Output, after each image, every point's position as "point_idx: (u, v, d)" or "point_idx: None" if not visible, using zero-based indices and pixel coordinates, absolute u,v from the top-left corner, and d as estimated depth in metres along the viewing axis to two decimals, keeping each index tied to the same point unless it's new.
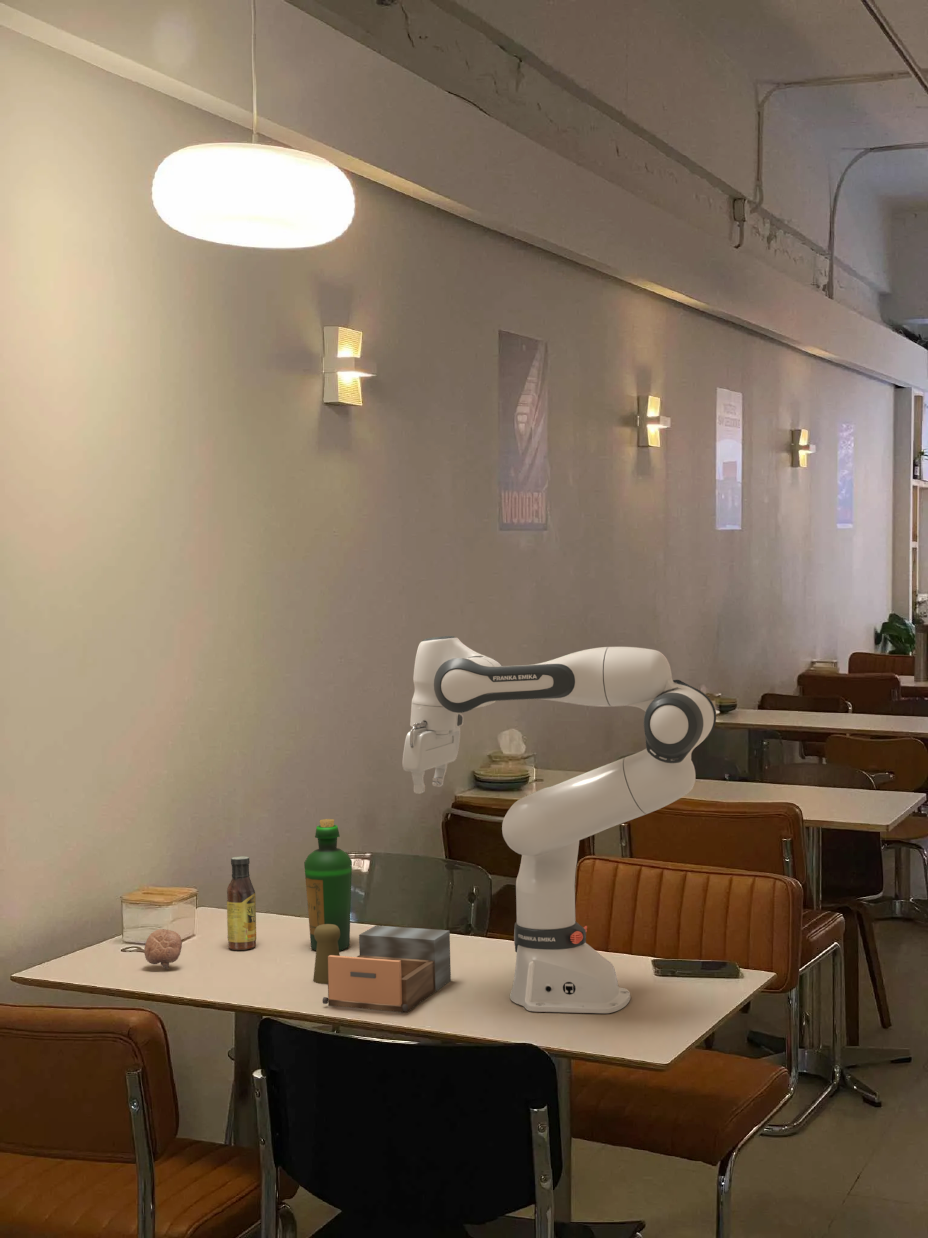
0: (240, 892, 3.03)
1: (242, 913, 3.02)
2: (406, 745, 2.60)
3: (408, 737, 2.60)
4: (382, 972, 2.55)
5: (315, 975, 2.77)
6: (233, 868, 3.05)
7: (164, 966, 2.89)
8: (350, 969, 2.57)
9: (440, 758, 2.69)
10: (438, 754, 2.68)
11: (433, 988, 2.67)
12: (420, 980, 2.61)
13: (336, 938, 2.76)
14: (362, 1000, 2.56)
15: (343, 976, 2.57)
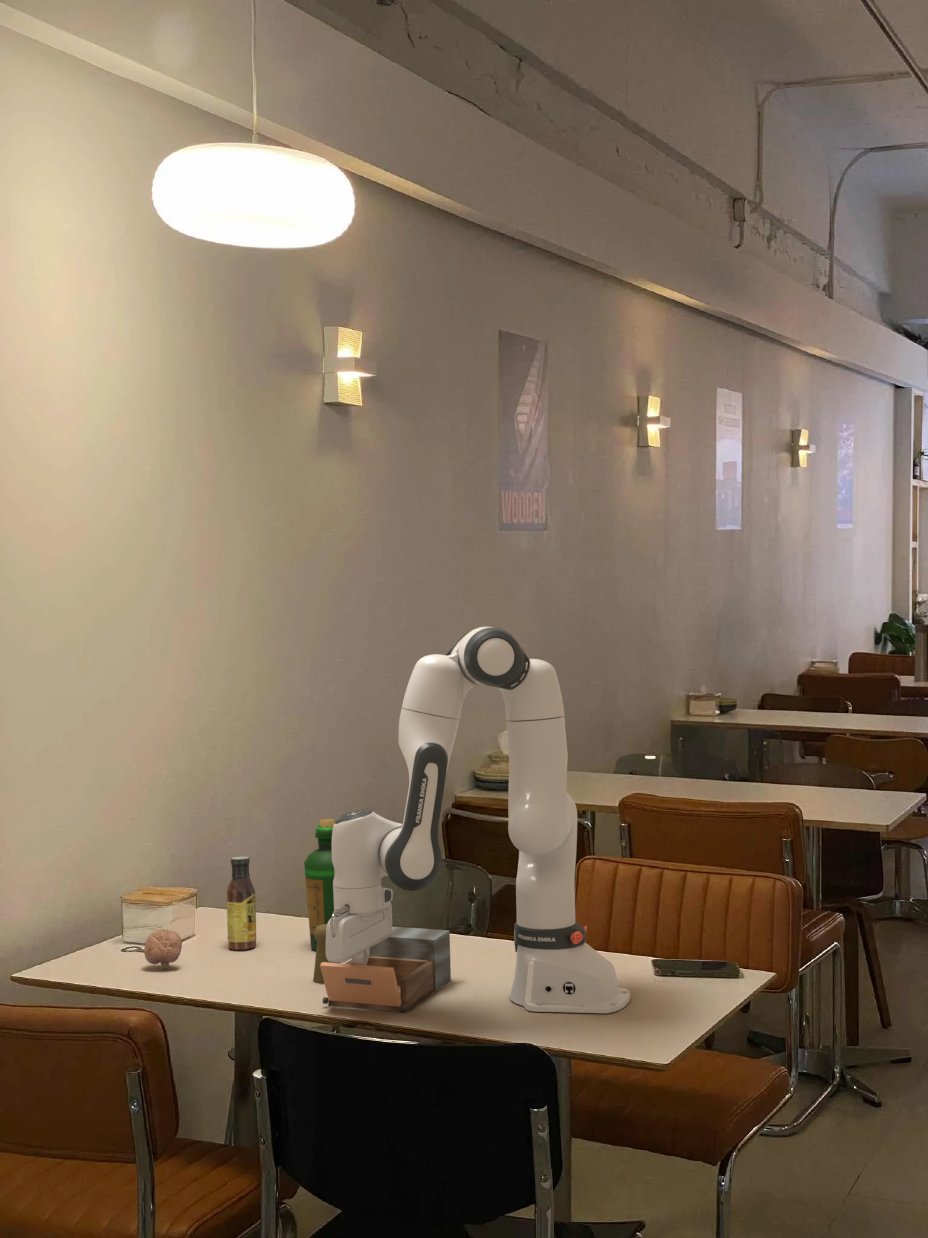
0: (240, 892, 3.03)
1: (242, 913, 3.02)
2: (327, 935, 2.47)
3: (329, 926, 2.47)
4: (376, 979, 2.52)
5: (315, 975, 2.77)
6: (233, 868, 3.05)
7: (164, 966, 2.89)
8: (345, 976, 2.55)
9: (370, 940, 2.55)
10: (366, 937, 2.54)
11: (433, 988, 2.67)
12: (420, 980, 2.61)
13: None
14: (361, 1001, 2.56)
15: (339, 981, 2.56)
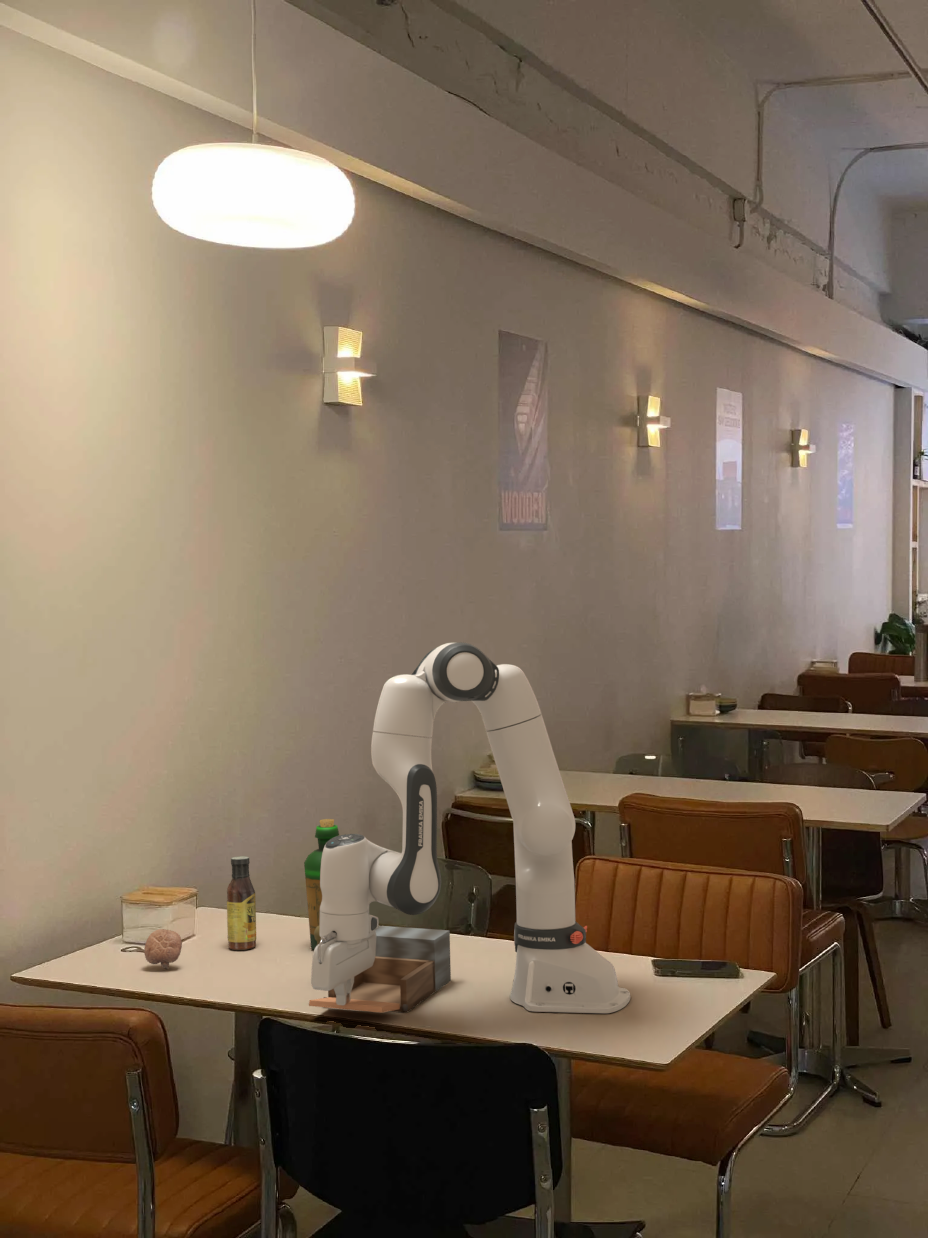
0: (240, 892, 3.03)
1: (242, 913, 3.02)
2: (314, 961, 2.40)
3: (316, 952, 2.40)
4: None
5: None
6: (233, 868, 3.05)
7: (164, 966, 2.89)
8: None
9: (354, 968, 2.49)
10: (351, 965, 2.47)
11: (433, 988, 2.67)
12: (420, 980, 2.61)
13: None
14: None
15: None
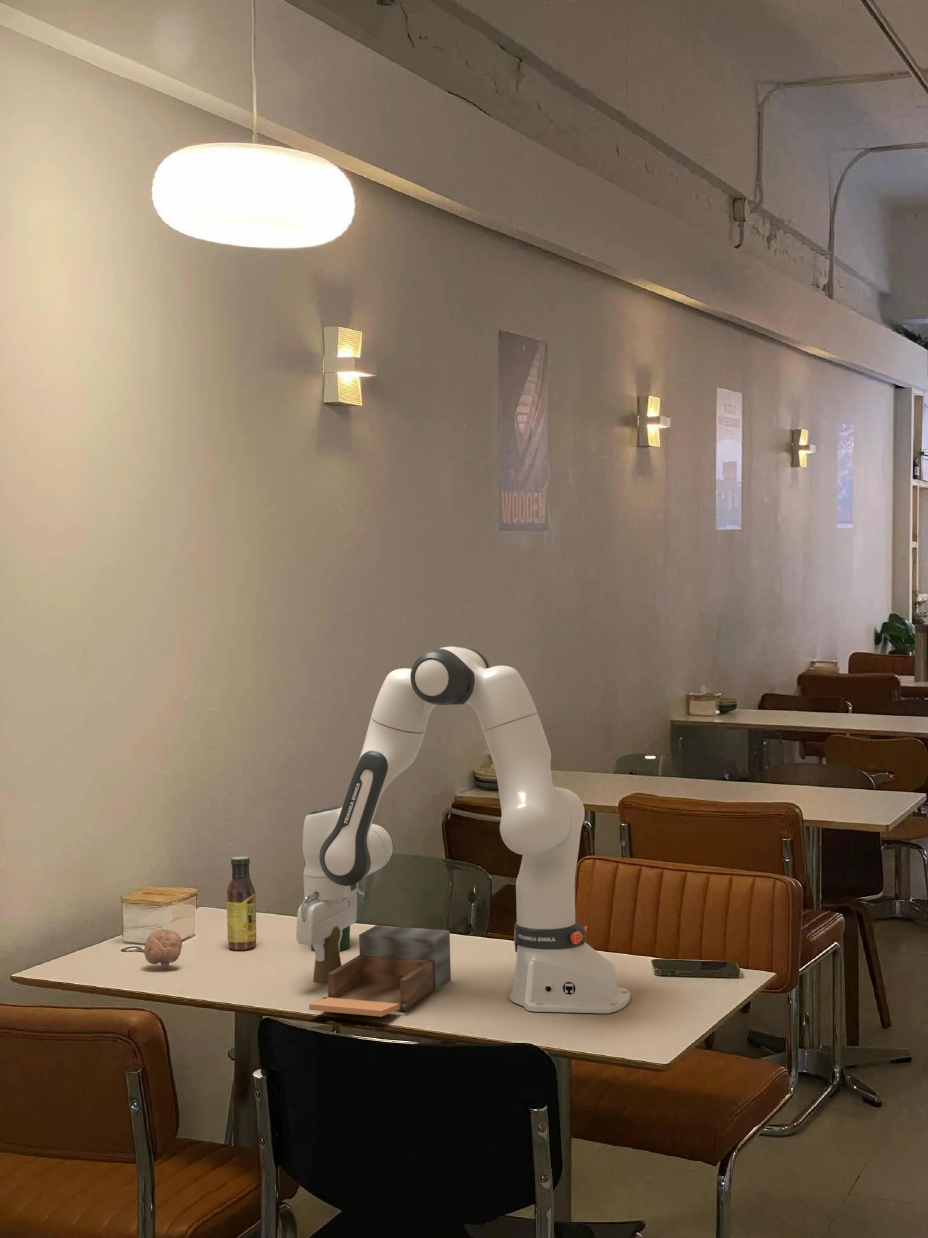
0: (240, 892, 3.03)
1: (242, 913, 3.02)
2: (298, 919, 2.69)
3: (300, 911, 2.70)
4: None
5: (315, 975, 2.77)
6: (233, 868, 3.05)
7: (164, 966, 2.89)
8: None
9: (336, 925, 2.78)
10: (333, 922, 2.77)
11: (433, 988, 2.67)
12: (420, 980, 2.61)
13: (336, 938, 2.76)
14: None
15: None
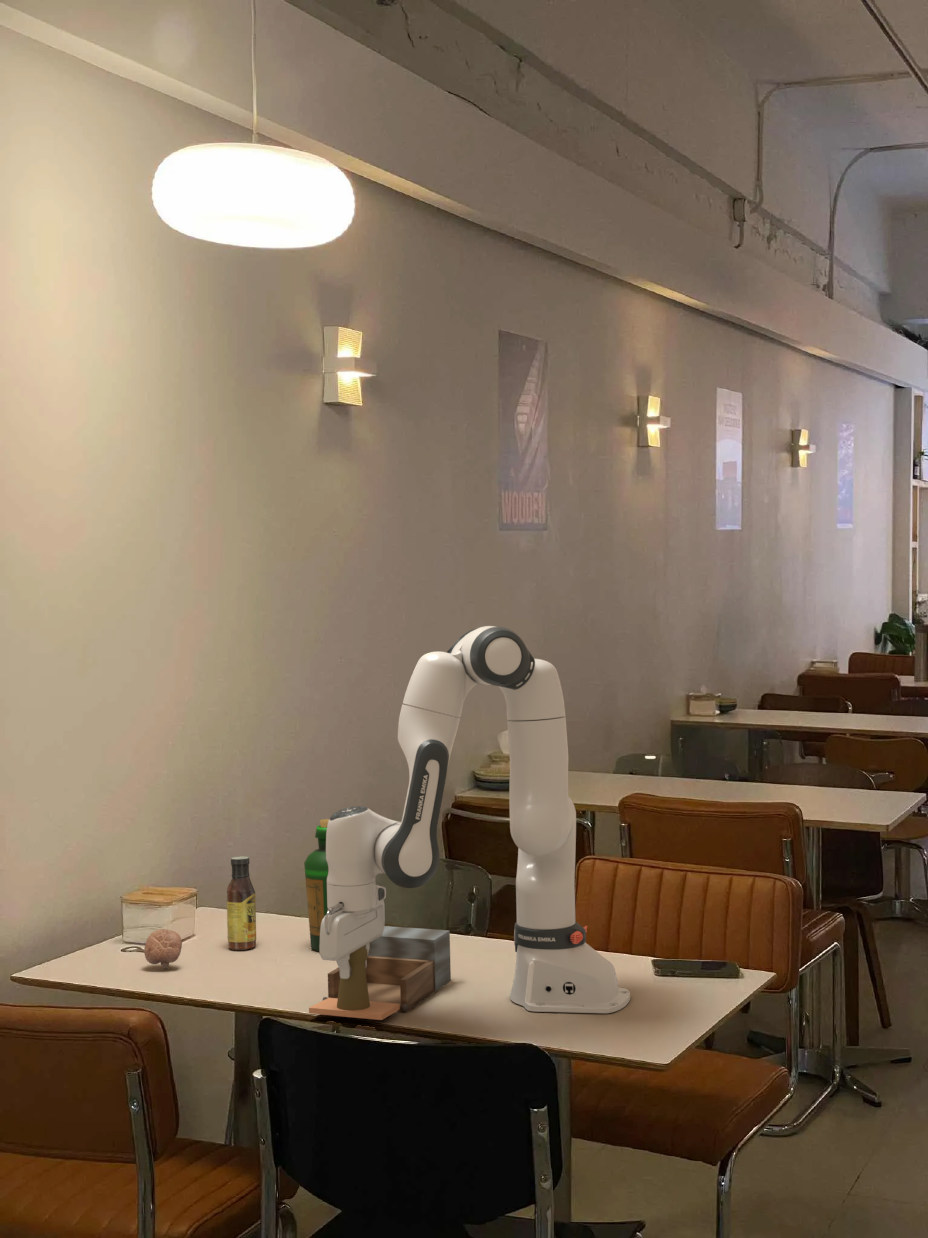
0: (240, 892, 3.03)
1: (242, 913, 3.02)
2: (322, 932, 2.43)
3: (323, 923, 2.44)
4: None
5: (339, 1000, 2.51)
6: (233, 868, 3.05)
7: (164, 966, 2.89)
8: None
9: (363, 938, 2.52)
10: (359, 935, 2.51)
11: (433, 988, 2.67)
12: (420, 980, 2.61)
13: (363, 959, 2.51)
14: None
15: None
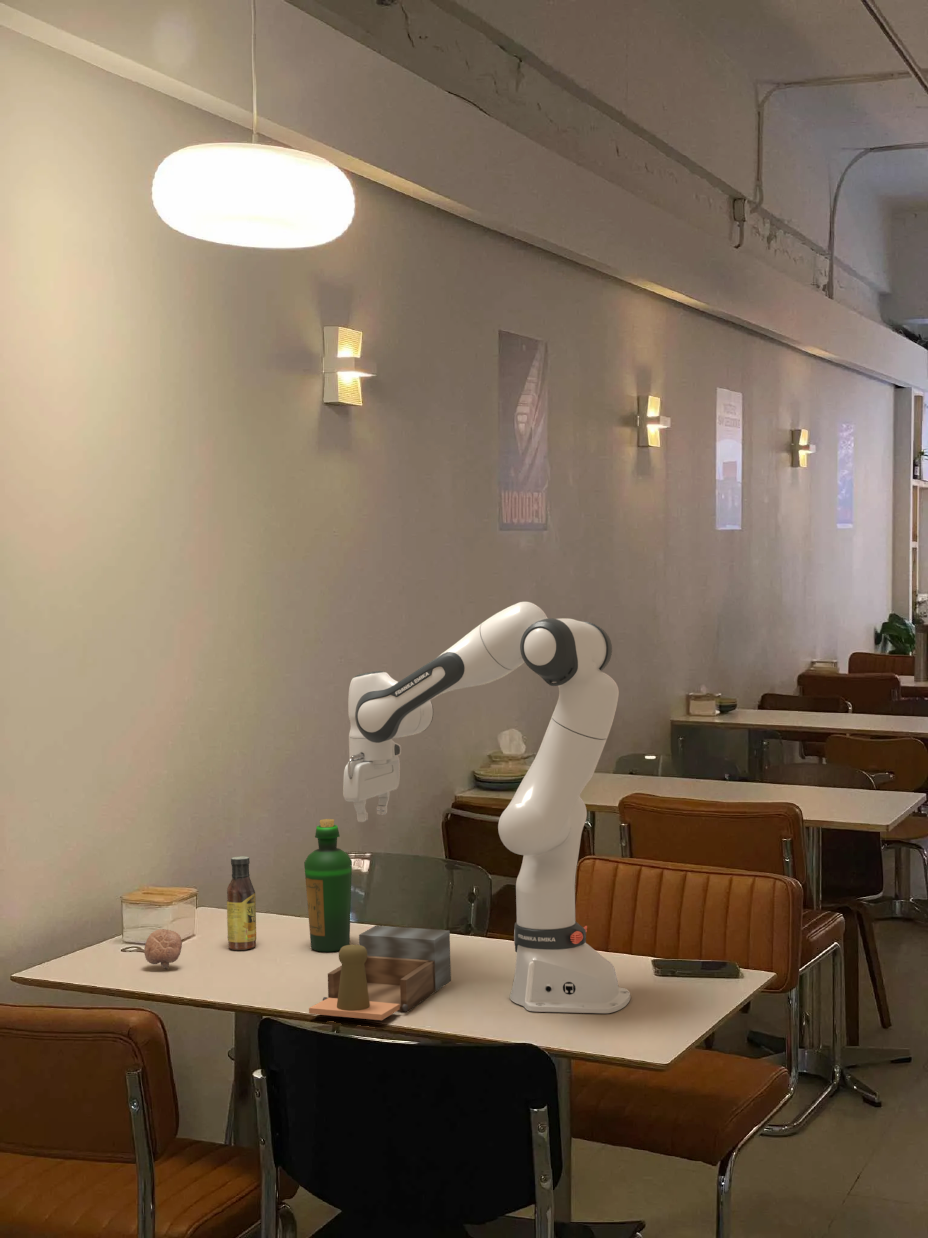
0: (240, 892, 3.03)
1: (242, 913, 3.02)
2: (345, 777, 2.76)
3: (346, 769, 2.76)
4: None
5: (339, 1001, 2.51)
6: (233, 868, 3.05)
7: (164, 966, 2.89)
8: None
9: (381, 787, 2.85)
10: (378, 783, 2.83)
11: (433, 988, 2.67)
12: (420, 980, 2.61)
13: (363, 960, 2.51)
14: None
15: None
